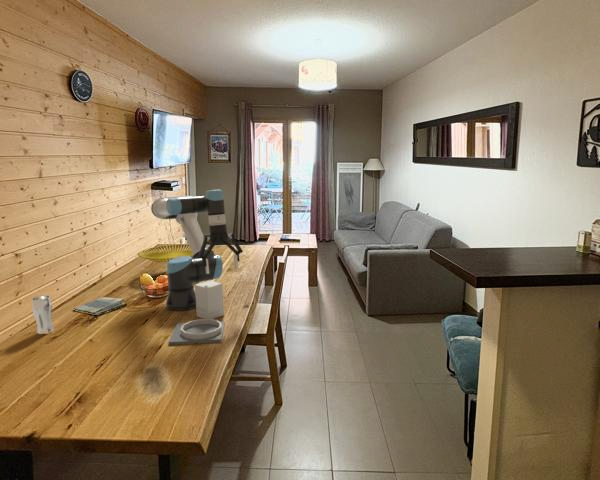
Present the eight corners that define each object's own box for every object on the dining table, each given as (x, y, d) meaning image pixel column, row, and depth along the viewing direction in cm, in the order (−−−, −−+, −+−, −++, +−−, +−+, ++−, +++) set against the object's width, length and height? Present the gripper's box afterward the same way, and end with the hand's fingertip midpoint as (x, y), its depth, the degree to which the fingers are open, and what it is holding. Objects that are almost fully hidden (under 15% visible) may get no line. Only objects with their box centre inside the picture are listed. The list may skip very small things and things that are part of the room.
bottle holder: (168, 345, 169) (167, 337, 168) (177, 326, 187) (176, 319, 187) (221, 342, 170) (220, 334, 170) (224, 323, 189) (224, 316, 188)
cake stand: (221, 269, 278) (219, 246, 275) (178, 287, 242) (176, 261, 239) (170, 264, 295) (169, 242, 292) (124, 280, 259) (121, 255, 256)
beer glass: (58, 328, 187) (53, 294, 184) (49, 335, 180) (44, 300, 177) (41, 329, 187) (36, 295, 184) (32, 335, 180) (27, 300, 177)
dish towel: (71, 311, 209) (70, 305, 208) (103, 300, 224) (103, 294, 224) (98, 317, 200) (97, 311, 200) (129, 305, 216) (128, 299, 215)
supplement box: (224, 315, 199) (223, 283, 196) (208, 321, 192) (206, 288, 190) (212, 310, 205) (210, 279, 202) (196, 316, 198) (194, 284, 196)
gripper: (191, 227, 189) (197, 276, 190) (246, 221, 200) (251, 267, 202) (187, 227, 195) (193, 274, 197) (241, 221, 207) (245, 266, 208)
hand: (222, 271), depth 199 cm, fingers open, 13 cm apart
